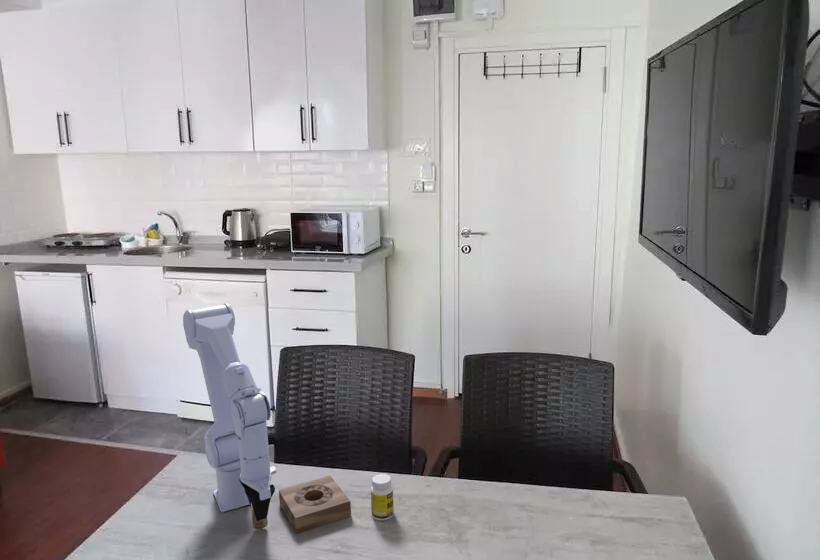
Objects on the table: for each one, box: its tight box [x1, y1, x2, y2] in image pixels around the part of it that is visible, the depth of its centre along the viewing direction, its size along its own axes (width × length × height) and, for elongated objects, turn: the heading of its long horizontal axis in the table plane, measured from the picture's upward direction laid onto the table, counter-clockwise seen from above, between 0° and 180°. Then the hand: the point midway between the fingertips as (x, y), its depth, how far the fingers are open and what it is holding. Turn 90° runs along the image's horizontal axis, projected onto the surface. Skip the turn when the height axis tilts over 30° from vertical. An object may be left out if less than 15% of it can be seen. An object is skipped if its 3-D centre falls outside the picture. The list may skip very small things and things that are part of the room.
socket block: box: [278, 475, 352, 534], centre depth 130 cm, size 12×12×4 cm
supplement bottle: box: [370, 473, 394, 522], centre depth 127 cm, size 5×5×8 cm
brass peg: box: [250, 504, 269, 530], centre depth 123 cm, size 3×3×8 cm
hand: (259, 514), depth 123 cm, fingers closed on brass peg, 3 cm apart
